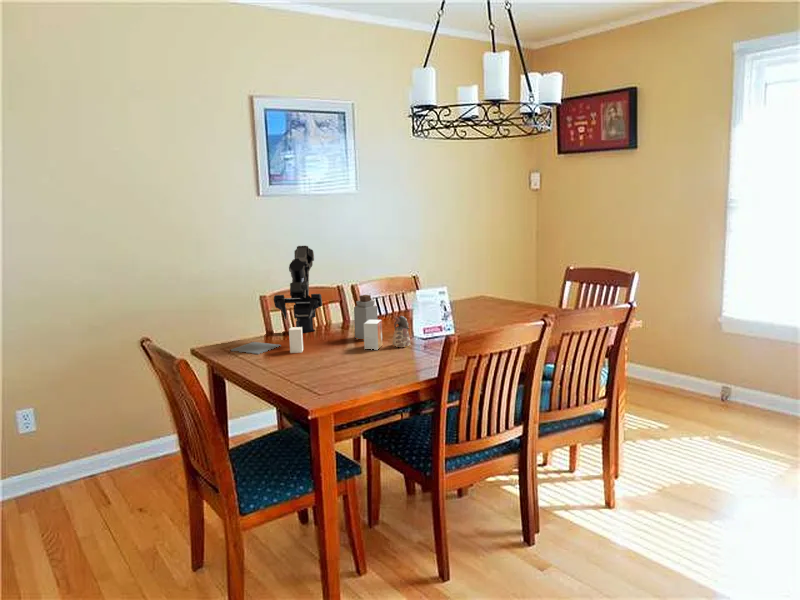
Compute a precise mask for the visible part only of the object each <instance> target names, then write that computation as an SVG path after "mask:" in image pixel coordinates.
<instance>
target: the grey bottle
mask: <svg viewBox="0 0 800 600" xmlns="http://www.w3.org/2000/svg"><path fill="white" fill-rule="evenodd" d="M371 297H372V296H371V295H370V294H361V295H359V300H357V301H355V302H356V306H353V314H354V315H353V316H354V319H353V320H354V321H353V322H354V324H353V325H354V339H355V338H358V339H364V323H365V322H367V321H368V320H379V319H378V305H375V300H373V299H371ZM358 339H357V340H358Z"/></svg>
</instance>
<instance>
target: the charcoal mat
mask: <svg viewBox="0 0 800 600" xmlns="http://www.w3.org/2000/svg"><path fill="white" fill-rule="evenodd" d="M279 346H280V347H282V344H278V343H267V342H260V341H259V342H258V341H251V342H249V343H247V344H243V345H240V346H237V347H235V348H234V347H233V348H231V349H230V350H231V351H230V352H234V351H239V352H238V353H242V352H246V353H245V354H250V353H252V354H251V355H261V354H263V352H264V353H266V352H269V351H272V350H274V348H275V349H277V348H280V347H279ZM276 347H277V348H276ZM271 349H272V350H271ZM268 350H269V351H268ZM260 353H261V354H260Z"/></svg>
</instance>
